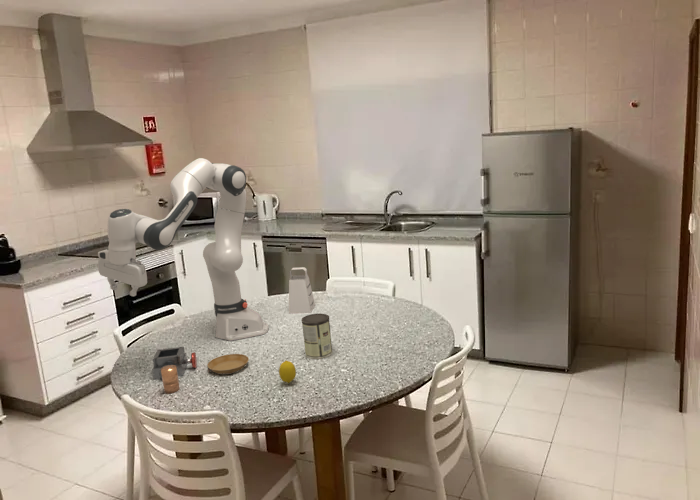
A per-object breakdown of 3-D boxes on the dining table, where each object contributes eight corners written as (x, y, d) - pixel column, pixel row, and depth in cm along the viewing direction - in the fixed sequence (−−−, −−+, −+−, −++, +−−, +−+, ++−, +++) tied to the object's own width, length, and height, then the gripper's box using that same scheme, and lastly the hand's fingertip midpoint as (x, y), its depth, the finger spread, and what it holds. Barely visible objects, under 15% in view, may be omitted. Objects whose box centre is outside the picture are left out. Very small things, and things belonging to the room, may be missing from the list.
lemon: (280, 380, 191) (278, 358, 189) (297, 378, 191) (294, 356, 189) (280, 387, 185) (277, 365, 184) (297, 385, 186) (294, 363, 184)
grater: (293, 306, 271) (289, 266, 267) (315, 305, 269) (311, 265, 265) (288, 313, 261) (284, 271, 256) (310, 313, 259) (306, 270, 255)
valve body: (161, 364, 214) (158, 346, 212) (199, 359, 215) (196, 341, 214) (152, 382, 198) (149, 363, 197) (193, 376, 200) (190, 358, 198)
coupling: (180, 386, 193) (177, 364, 191) (178, 392, 188) (175, 370, 186) (165, 388, 192) (162, 366, 191) (163, 394, 188) (159, 372, 186)
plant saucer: (214, 361, 213) (213, 354, 212) (253, 358, 212) (252, 352, 211) (203, 378, 198) (202, 371, 198) (244, 375, 198) (243, 368, 197)
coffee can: (311, 347, 217) (307, 312, 214) (336, 349, 214) (333, 313, 211) (300, 358, 208) (296, 322, 205) (326, 360, 204) (323, 323, 202)
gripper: (151, 260, 196) (151, 296, 200) (108, 247, 204) (110, 283, 209) (137, 264, 191) (138, 302, 195) (94, 251, 199) (95, 288, 203)
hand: (123, 292), depth 202 cm, fingers open, 8 cm apart
